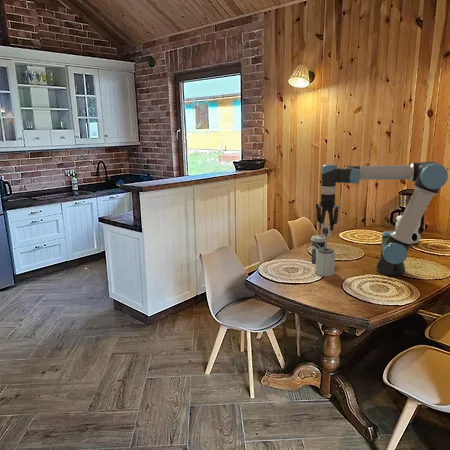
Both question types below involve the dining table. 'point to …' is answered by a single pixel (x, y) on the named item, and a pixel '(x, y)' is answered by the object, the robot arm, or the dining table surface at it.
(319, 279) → the dining table surface
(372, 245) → the dining table surface
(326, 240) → the plunger
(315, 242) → the coffee cup
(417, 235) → the milk container
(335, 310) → the dining table surface
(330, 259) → the carafe
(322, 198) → the robot arm
